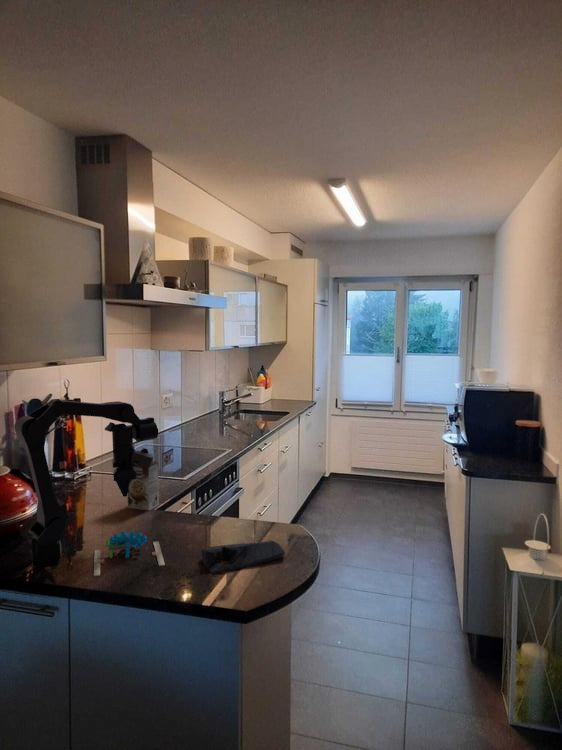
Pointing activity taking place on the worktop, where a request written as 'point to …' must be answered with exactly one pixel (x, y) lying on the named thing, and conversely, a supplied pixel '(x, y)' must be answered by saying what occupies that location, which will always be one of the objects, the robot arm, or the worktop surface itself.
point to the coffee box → (144, 488)
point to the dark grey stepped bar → (240, 555)
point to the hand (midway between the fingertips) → (125, 496)
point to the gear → (125, 542)
